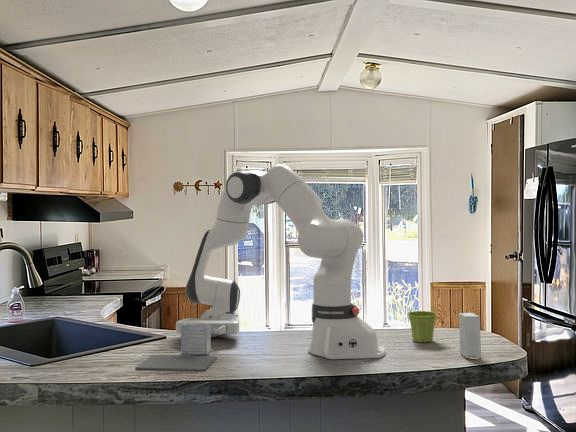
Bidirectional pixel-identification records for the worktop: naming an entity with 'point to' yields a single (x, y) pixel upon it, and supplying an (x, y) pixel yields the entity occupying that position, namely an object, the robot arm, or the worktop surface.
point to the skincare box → (470, 335)
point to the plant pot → (422, 325)
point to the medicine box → (195, 338)
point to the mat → (176, 363)
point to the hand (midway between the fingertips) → (202, 331)
